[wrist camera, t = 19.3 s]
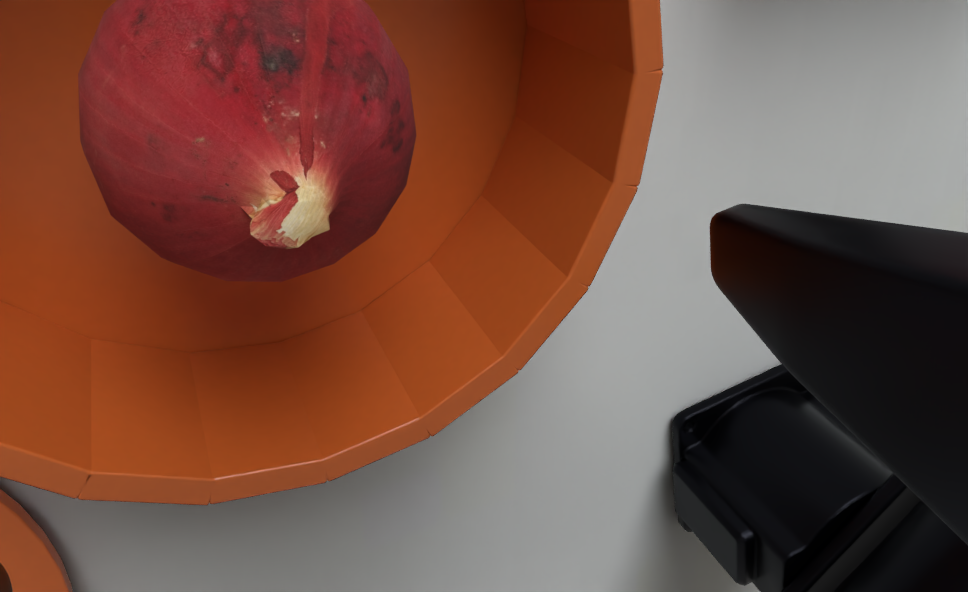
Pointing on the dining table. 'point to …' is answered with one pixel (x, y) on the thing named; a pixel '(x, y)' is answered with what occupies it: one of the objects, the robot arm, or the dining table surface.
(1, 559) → the lid
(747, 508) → the robot arm
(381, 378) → the tin
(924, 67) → the dining table surface
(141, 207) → the onion
